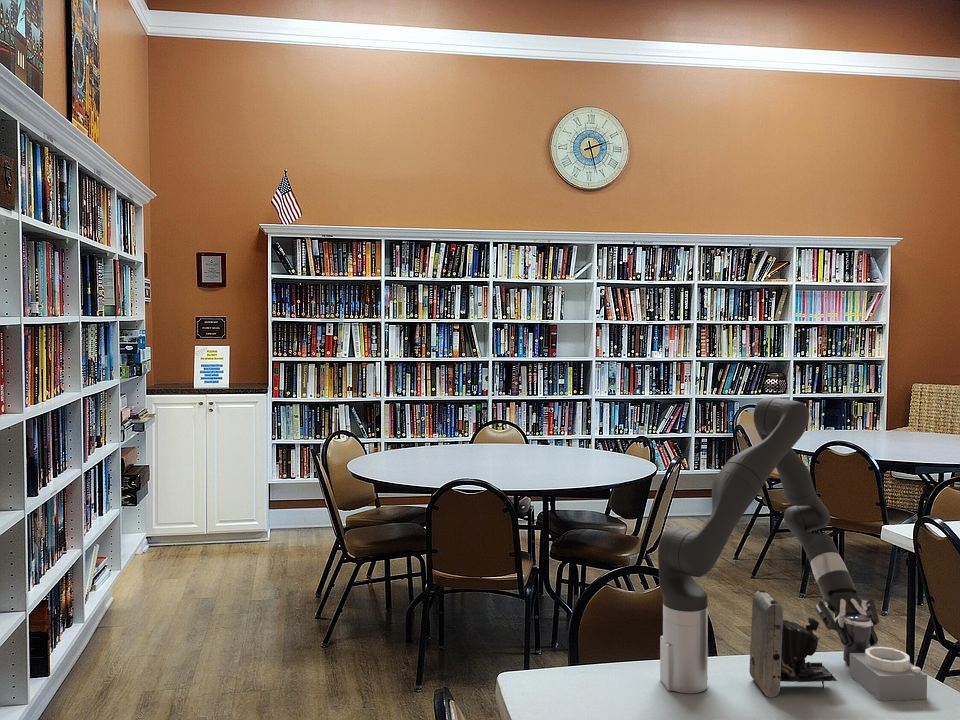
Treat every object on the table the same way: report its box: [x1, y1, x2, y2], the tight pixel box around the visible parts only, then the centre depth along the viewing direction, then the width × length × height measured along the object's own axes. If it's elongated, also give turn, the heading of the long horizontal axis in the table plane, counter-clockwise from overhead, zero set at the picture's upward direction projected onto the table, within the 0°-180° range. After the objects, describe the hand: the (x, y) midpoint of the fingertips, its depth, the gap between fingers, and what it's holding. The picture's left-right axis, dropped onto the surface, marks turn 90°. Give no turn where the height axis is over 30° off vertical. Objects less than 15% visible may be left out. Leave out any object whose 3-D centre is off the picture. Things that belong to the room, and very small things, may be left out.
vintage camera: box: [749, 589, 838, 698], centre depth 172 cm, size 10×16×20 cm, turn 89°
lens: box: [842, 613, 871, 665], centre depth 185 cm, size 6×6×10 cm
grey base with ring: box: [849, 646, 928, 701], centre depth 173 cm, size 10×12×7 cm
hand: (861, 645), depth 183 cm, fingers closed on lens, 5 cm apart
